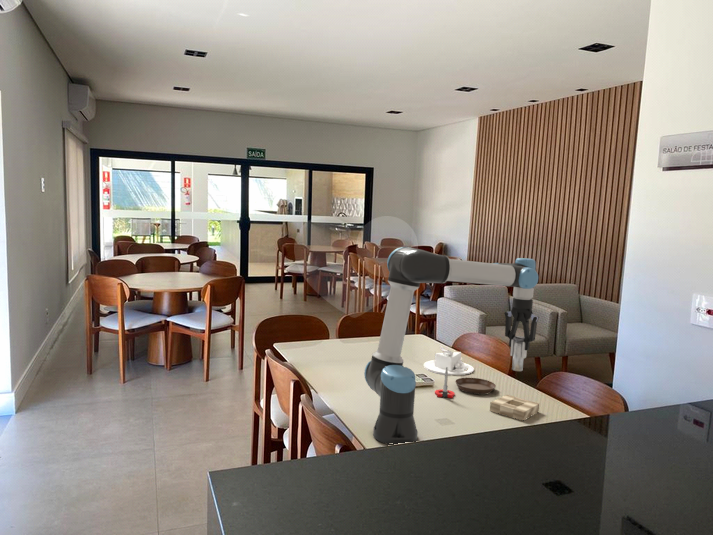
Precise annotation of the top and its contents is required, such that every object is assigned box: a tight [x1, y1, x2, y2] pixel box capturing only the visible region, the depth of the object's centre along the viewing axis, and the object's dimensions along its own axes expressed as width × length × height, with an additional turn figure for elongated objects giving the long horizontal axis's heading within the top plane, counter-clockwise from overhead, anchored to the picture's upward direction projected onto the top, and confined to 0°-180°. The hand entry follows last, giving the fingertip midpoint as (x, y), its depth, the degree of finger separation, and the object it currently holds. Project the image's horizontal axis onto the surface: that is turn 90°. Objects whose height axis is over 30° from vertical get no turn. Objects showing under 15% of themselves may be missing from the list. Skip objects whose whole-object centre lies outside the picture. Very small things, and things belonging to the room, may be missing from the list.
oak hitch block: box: [489, 394, 540, 421], centre depth 213 cm, size 14×14×4 cm
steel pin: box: [511, 335, 525, 372], centre depth 210 cm, size 5×5×13 cm
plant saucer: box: [454, 377, 497, 395], centre depth 239 cm, size 18×18×3 cm
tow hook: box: [434, 367, 456, 399], centre depth 229 cm, size 8×13×9 cm
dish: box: [423, 345, 475, 376], centre depth 270 cm, size 25×25×11 cm
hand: (518, 356), depth 211 cm, fingers closed on steel pin, 4 cm apart
